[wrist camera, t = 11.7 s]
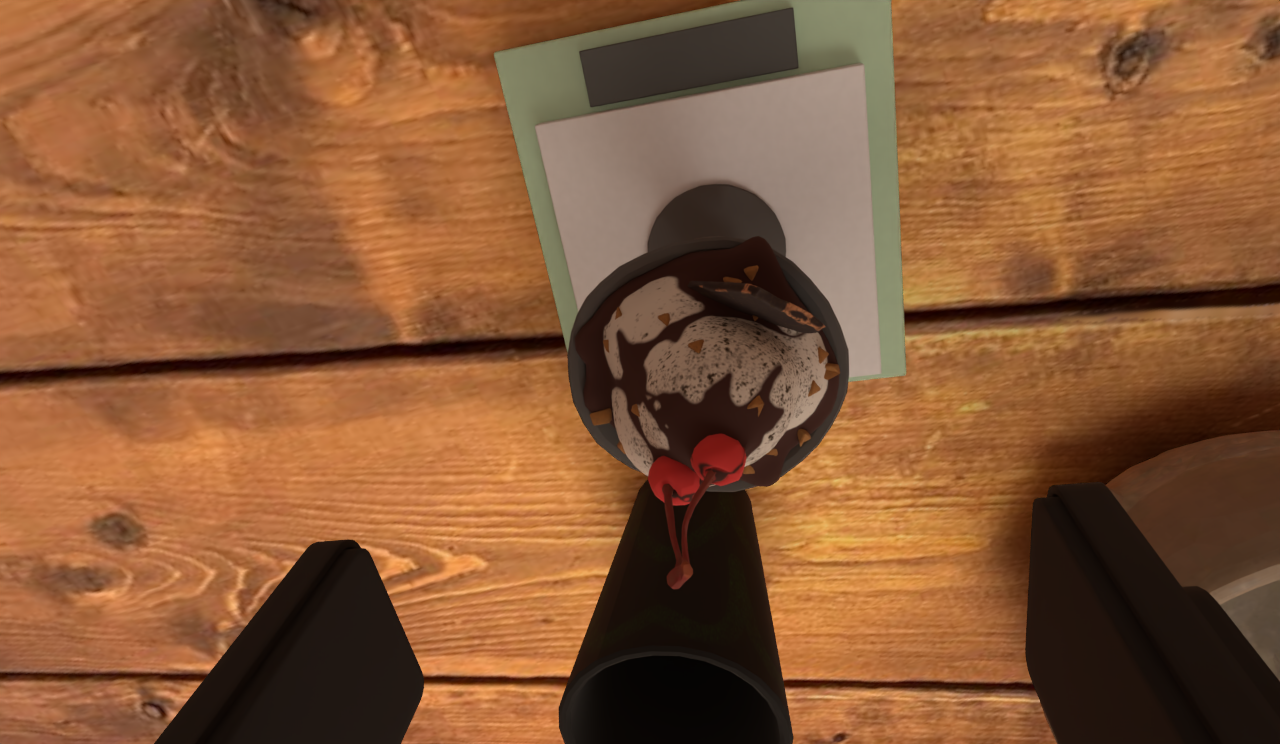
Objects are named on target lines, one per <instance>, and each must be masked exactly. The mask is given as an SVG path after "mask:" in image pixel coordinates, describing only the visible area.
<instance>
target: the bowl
mask: <svg viewBox="0 0 1280 744" xmlns="http://www.w3.org/2000/svg"><path fill="white" fill-rule="evenodd" d="M1106 486H1107V487H1108V488H1109V490H1110V491H1111V492H1112V494H1113V495H1114V496H1115V498H1116V499H1117V500H1118V502H1119V503H1120V504H1121V506H1122V507H1123V508H1124V510H1125V511H1126V512H1127V514H1128V515H1129V516H1130V518H1131V519H1132V520H1133V522H1134V523H1135V524H1136V526H1137V527H1138V529H1139V530H1140V531H1141V533H1142V534H1143V535H1144V537H1145V538H1146V539H1147V541H1148V542H1149V543H1150V545H1151V546H1152V547H1153V549H1154V550H1155V551H1156V553H1157V554H1158V555H1159V557H1160V558H1161V559H1162V561H1163V562H1164V563H1165V565H1166V566H1167V567H1168V569H1169V570H1170V572H1171V573H1172V574H1173V576H1174V577H1175V578H1176V580H1177V581H1178V582H1179V584H1180V585H1181V586H1182V587H1188V586H1198V587H1200V588H1202V589H1204V590H1206V591H1207V592H1208V593H1209V594H1210V595H1211V596H1212V597H1213V598H1214V599H1215V600H1216V601H1217V602H1218V603H1219V604H1220V606H1221V607H1222V608H1223V609H1224V611H1225V612H1226V613H1227V615H1228V616H1229V617H1230V618H1231V620H1232V621H1233V622H1234V624H1235V625H1236V626H1237V627H1238V629H1239V630H1240V631H1241V632H1242V634H1243V635H1244V636H1245V638H1246V639H1247V640H1248V641H1249V643H1250V644H1251V645H1252V646H1253V648H1254V649H1255V650H1256V652H1257V653H1258V654H1259V655H1260V657H1261V658H1262V659H1263V660H1264V662H1265V663H1266V664H1267V666H1268V667H1269V668H1270V669H1271V671H1272V672H1273V673H1274V675H1275V676H1276V677H1277V678H1278V680H1279V681H1280V430H1271V431H1259V432H1250V433H1241V434H1232V435H1226V436H1220V437H1215V438H1211V439H1207V440H1202V441H1199V442H1195V443H1192V444H1188V445H1184V446H1181V447H1178V448H1174V449H1171V450H1168V451H1165V452H1163V453H1161V454H1160V455H1158V456H1156V457H1154V458H1152V459H1149V460H1147V461H1144V462H1142V463H1139V464H1136V465H1134V466H1131V467H1130V468H1128V469H1127V470H1125V471H1124V472H1123V473H1121V474H1120V475H1118V476H1117V477H1115V478H1114V479H1112V480H1111V481H1110V482H1109V483H1107V484H1106ZM1041 705H1042V704H1041ZM1042 708H1043V706H1042ZM1043 711H1044V709H1043ZM1044 714H1045V717H1046V720H1047V722H1048V724H1049V726H1050V729H1051V731H1052V733H1053V735H1054V732H1053V730H1052V728H1051V725H1050V723H1049V721H1048V718H1047V716H1046V713H1045V711H1044ZM1054 737H1055V735H1054ZM1055 740H1056V742H1057V739H1056V737H1055ZM1057 744H1058V742H1057Z"/></svg>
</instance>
